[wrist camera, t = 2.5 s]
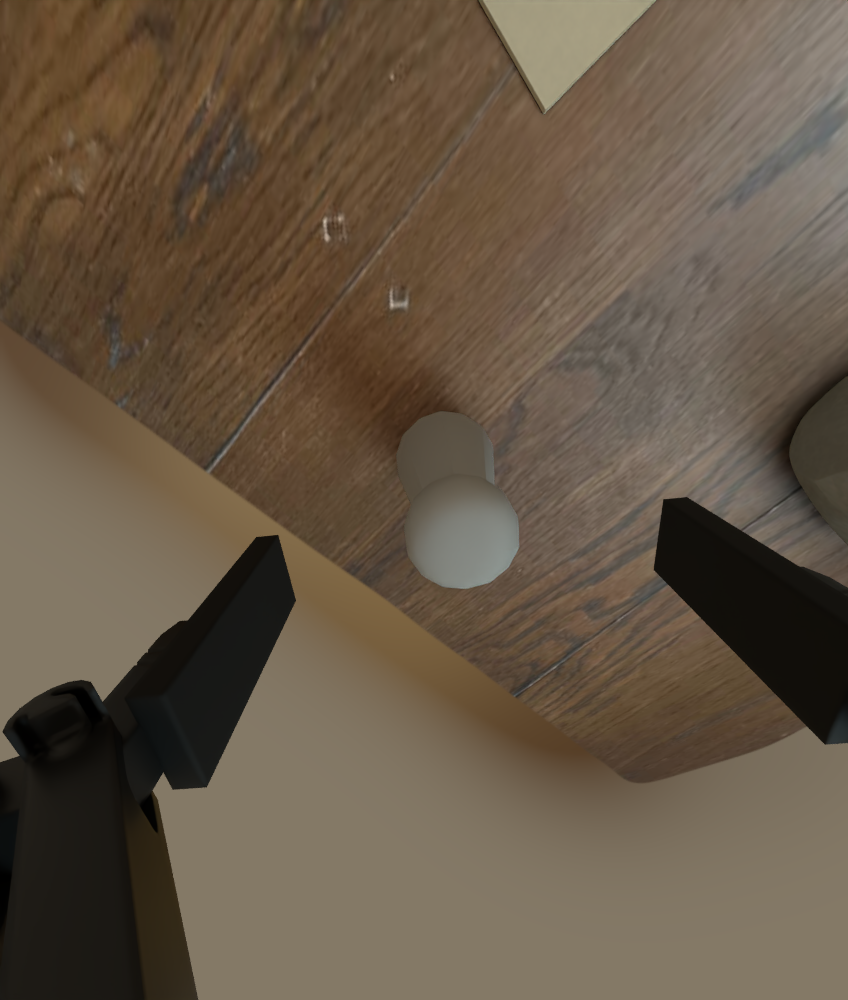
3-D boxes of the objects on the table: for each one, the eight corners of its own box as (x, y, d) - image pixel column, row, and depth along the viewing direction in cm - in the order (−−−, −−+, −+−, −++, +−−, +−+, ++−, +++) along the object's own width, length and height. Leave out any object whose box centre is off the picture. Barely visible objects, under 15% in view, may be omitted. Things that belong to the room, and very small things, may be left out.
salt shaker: (440, 507, 27) (458, 642, 15) (379, 449, 26) (345, 550, 14) (505, 449, 26) (581, 549, 14) (445, 384, 24) (471, 433, 12)
